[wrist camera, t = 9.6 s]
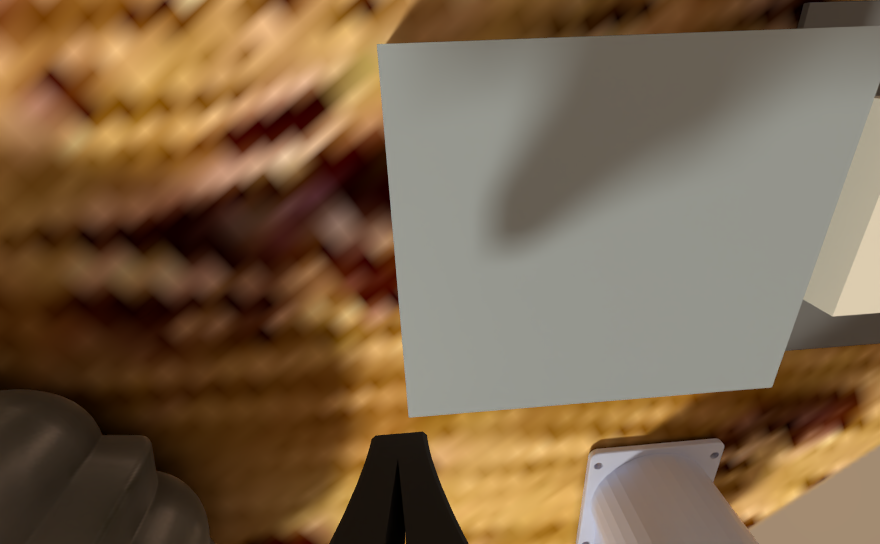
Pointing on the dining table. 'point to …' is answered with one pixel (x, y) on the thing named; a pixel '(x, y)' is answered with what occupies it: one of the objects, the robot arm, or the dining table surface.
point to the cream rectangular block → (853, 235)
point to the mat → (811, 321)
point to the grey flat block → (612, 207)
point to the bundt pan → (85, 481)
